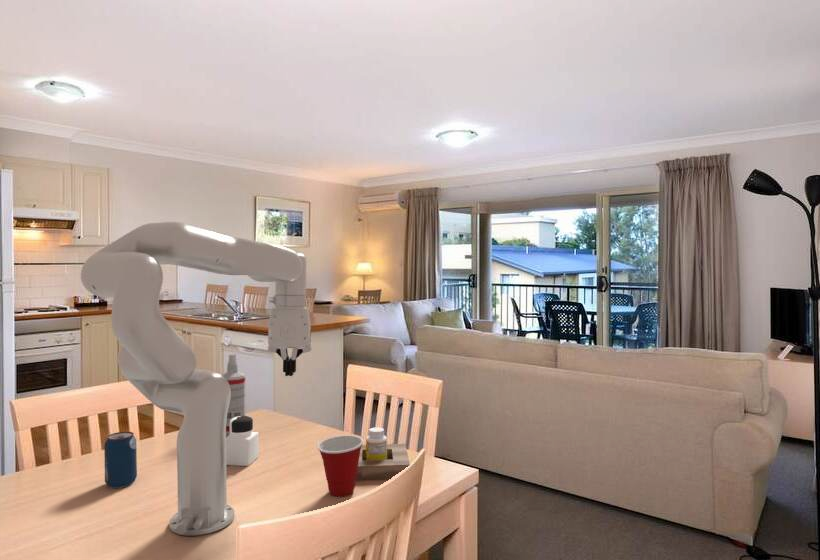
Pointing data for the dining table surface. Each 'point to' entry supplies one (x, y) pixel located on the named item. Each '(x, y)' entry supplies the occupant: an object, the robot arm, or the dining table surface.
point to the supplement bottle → (376, 444)
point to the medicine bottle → (242, 442)
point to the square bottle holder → (383, 463)
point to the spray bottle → (235, 391)
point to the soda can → (120, 459)
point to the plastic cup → (341, 462)
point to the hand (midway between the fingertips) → (289, 375)
